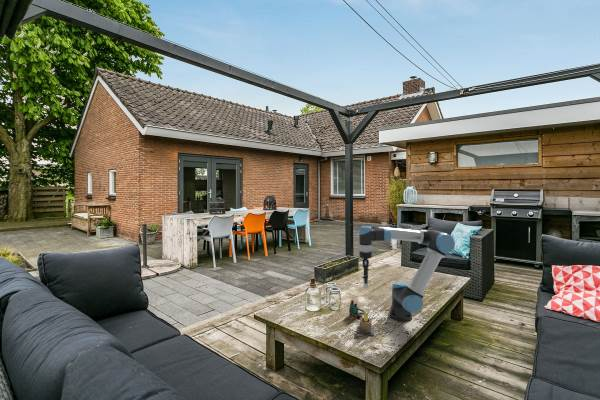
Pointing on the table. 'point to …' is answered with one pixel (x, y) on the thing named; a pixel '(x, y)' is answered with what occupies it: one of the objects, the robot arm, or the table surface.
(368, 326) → the link
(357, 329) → the keeper
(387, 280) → the table surface
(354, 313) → the binoculars
